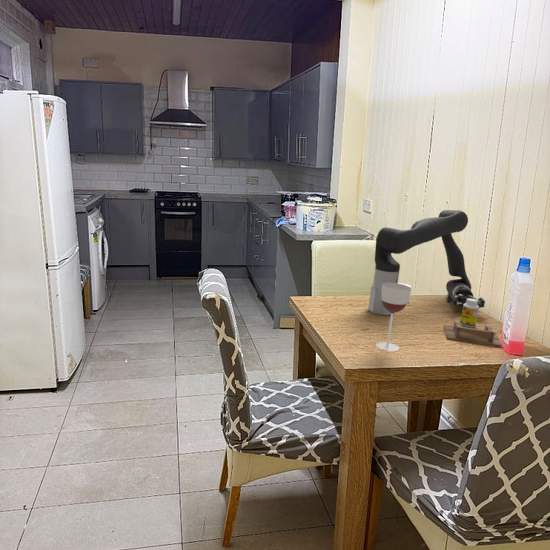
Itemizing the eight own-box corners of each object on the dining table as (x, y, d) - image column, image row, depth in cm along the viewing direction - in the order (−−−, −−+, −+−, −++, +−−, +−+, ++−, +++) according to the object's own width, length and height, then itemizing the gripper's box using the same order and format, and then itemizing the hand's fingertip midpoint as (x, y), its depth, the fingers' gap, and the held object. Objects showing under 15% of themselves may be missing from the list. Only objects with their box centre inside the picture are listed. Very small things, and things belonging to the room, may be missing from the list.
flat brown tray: (443, 327, 187) (445, 316, 187) (495, 334, 184) (497, 323, 183) (446, 339, 174) (448, 327, 173) (502, 347, 170) (504, 335, 169)
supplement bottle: (456, 323, 193) (461, 297, 191) (467, 322, 196) (472, 297, 193) (467, 328, 188) (472, 302, 186) (478, 327, 191) (483, 301, 188)
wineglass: (395, 353, 156) (404, 291, 152) (369, 345, 161) (377, 284, 157) (405, 347, 163) (414, 287, 158) (380, 339, 168) (388, 281, 163)
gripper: (446, 284, 215) (450, 293, 199) (482, 288, 212) (488, 298, 196) (443, 301, 217) (446, 311, 201) (478, 306, 213) (484, 316, 198)
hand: (467, 304), depth 199 cm, fingers open, 8 cm apart
